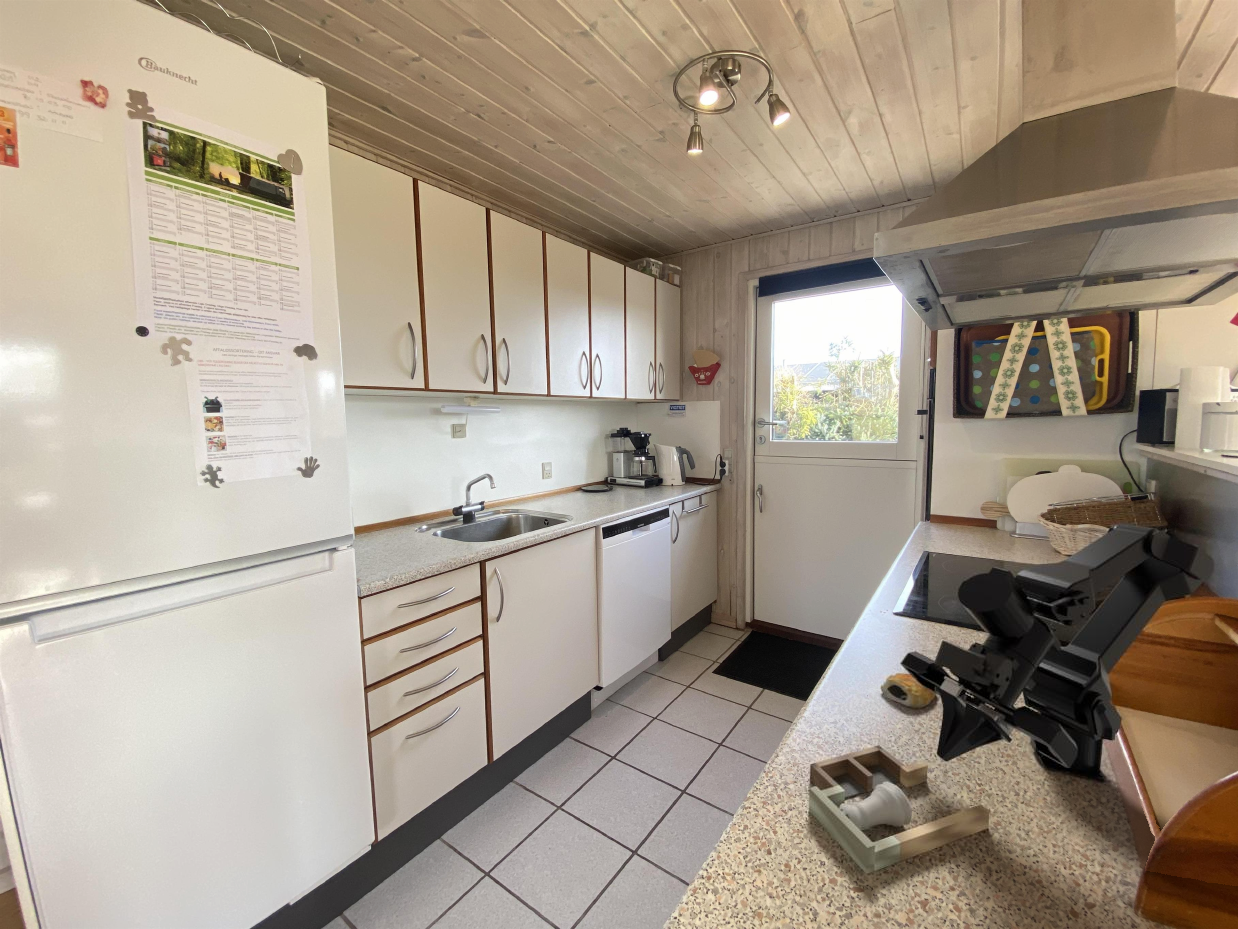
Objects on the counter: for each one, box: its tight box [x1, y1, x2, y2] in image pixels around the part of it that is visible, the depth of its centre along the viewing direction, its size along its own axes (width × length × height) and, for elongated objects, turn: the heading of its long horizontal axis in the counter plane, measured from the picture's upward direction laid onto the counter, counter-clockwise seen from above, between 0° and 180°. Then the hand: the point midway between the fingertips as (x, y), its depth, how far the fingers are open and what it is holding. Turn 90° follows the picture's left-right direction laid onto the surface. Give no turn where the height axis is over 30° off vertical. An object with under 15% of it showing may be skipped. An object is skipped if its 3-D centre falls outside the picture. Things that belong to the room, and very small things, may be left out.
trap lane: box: [808, 744, 990, 875], centre depth 62 cm, size 18×13×3 cm
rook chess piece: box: [839, 781, 913, 831], centre depth 59 cm, size 4×4×8 cm
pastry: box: [880, 672, 937, 709], centre depth 86 cm, size 9×7×4 cm
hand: (941, 758), depth 62 cm, fingers closed
